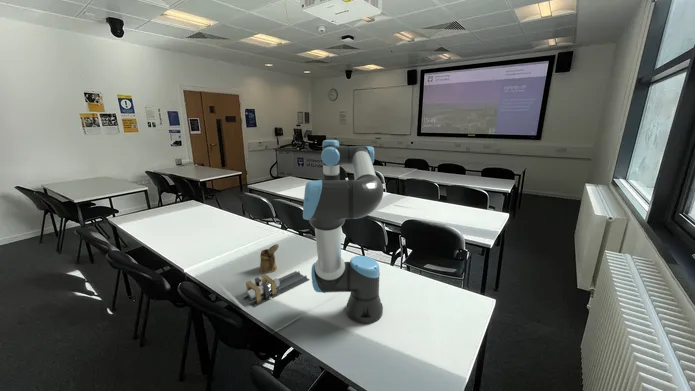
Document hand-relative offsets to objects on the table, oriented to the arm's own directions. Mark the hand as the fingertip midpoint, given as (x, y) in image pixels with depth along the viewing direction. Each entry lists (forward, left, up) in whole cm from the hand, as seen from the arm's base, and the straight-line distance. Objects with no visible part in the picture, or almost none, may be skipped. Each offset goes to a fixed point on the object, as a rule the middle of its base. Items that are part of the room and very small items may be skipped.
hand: (332, 221), depth 137 cm
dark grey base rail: (+10, +27, -29) cm, 41 cm away
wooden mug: (+26, +21, -30) cm, 45 cm away
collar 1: (+10, +39, -29) cm, 49 cm away
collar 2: (+10, +31, -29) cm, 44 cm away
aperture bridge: (+10, +35, -29) cm, 46 cm away
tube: (+10, +33, -28) cm, 45 cm away
